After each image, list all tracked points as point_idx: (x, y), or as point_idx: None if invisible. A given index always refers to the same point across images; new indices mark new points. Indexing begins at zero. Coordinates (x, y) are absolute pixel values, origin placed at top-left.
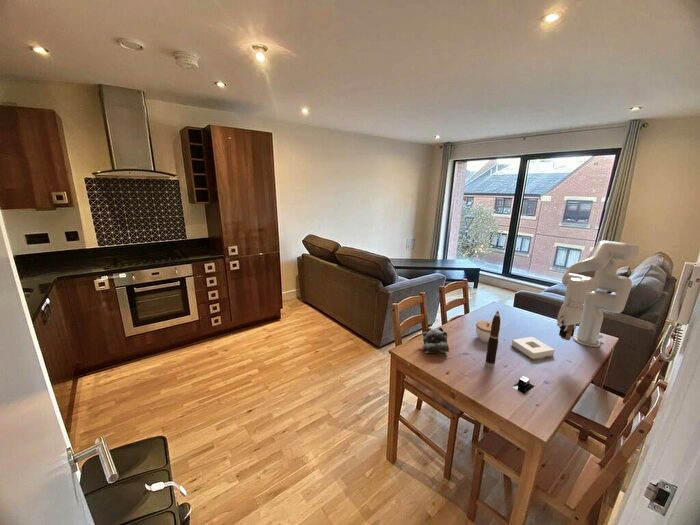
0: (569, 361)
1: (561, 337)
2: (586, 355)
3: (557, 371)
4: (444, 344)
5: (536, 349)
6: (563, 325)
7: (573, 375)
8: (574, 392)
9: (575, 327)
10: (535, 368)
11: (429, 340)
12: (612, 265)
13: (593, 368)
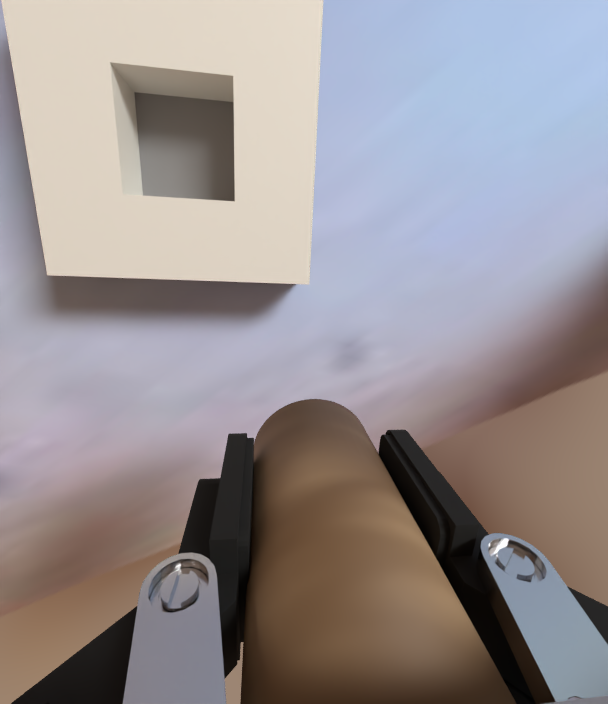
0: (349, 359)
1: (257, 440)
2: (528, 337)
3: (161, 421)
4: None
5: (134, 228)
6: (260, 663)
7: None
8: (90, 568)
9: (515, 686)
10: (24, 361)
11: None
12: None
13: None
